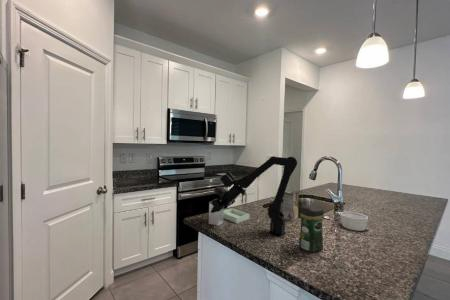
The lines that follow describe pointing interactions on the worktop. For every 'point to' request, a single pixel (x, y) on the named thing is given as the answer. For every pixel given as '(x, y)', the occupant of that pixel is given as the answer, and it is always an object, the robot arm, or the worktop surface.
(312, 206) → the coffee jar
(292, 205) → the coffee box
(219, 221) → the tin
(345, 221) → the ramekin
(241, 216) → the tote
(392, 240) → the worktop surface
